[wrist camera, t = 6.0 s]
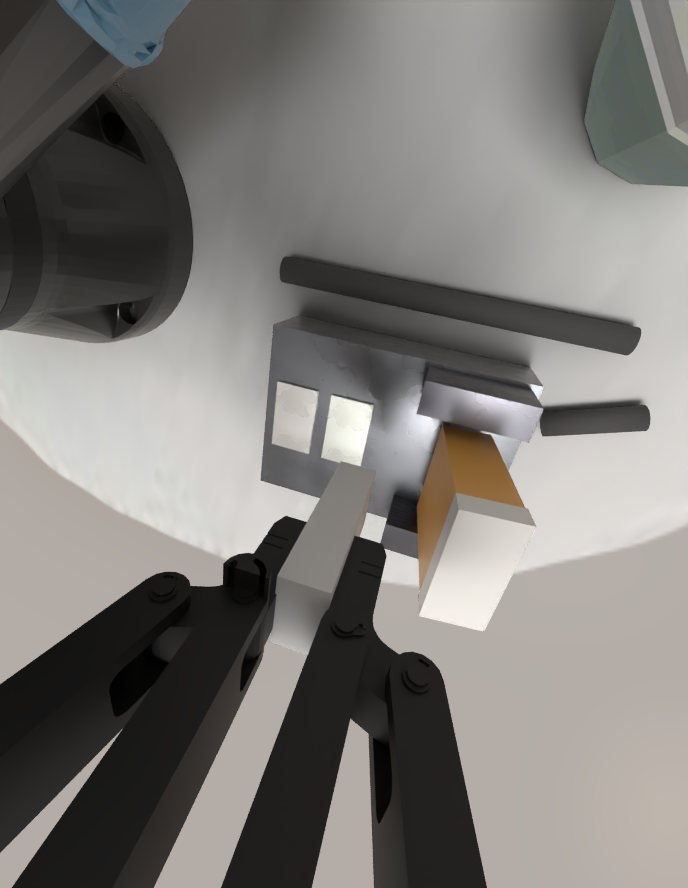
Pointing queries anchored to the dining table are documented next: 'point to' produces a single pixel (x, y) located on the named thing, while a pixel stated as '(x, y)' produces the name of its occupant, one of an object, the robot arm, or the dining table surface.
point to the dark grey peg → (595, 421)
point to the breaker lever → (468, 529)
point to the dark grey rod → (463, 306)
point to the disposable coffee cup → (642, 93)
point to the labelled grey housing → (382, 412)
